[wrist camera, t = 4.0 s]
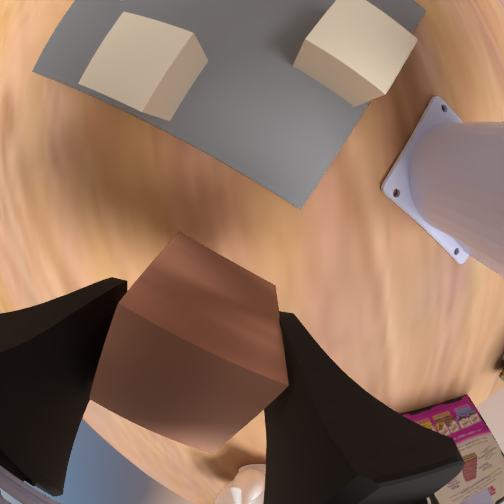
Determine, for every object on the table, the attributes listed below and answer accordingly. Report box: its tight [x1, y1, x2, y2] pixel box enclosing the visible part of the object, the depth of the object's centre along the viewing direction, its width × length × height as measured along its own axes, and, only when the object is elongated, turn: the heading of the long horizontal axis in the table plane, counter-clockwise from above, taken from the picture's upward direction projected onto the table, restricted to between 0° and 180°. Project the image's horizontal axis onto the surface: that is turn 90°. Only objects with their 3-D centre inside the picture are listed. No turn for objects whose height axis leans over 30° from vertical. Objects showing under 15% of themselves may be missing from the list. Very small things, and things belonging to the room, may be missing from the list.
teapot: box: [214, 464, 266, 504], centre depth 22 cm, size 10×20×9 cm, turn 12°
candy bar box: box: [402, 395, 504, 504], centre depth 16 cm, size 11×5×16 cm, turn 89°
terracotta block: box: [89, 232, 289, 453], centre depth 8 cm, size 4×4×5 cm
